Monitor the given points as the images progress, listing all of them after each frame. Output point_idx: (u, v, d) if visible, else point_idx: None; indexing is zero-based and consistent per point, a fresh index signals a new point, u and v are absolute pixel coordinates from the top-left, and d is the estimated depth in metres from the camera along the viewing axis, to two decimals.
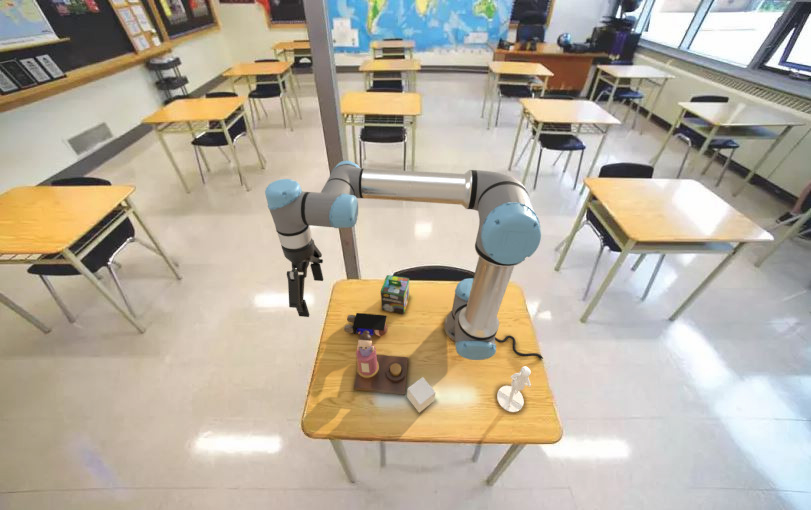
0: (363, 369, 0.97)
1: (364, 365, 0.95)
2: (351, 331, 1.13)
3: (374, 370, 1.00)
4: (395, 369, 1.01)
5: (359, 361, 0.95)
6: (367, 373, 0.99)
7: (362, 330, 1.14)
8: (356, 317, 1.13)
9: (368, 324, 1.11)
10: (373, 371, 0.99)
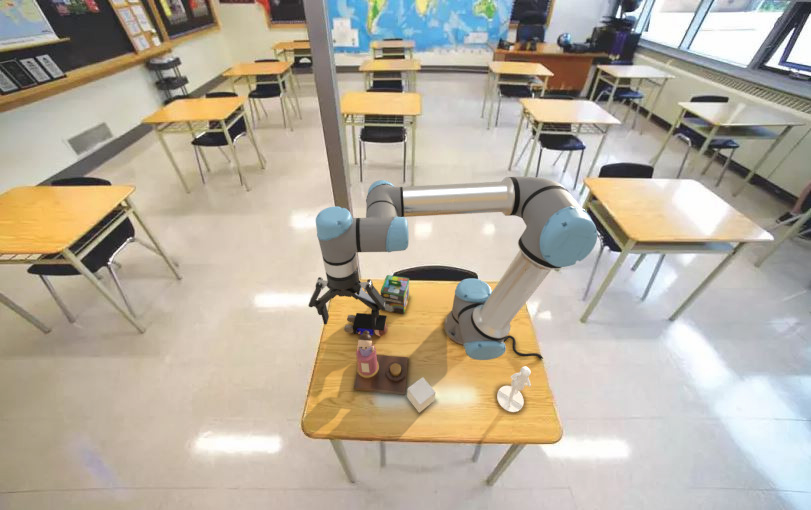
0: (363, 369, 0.97)
1: (364, 365, 0.95)
2: (351, 331, 1.13)
3: (374, 370, 1.00)
4: (395, 369, 1.01)
5: (359, 361, 0.95)
6: (367, 373, 0.99)
7: (362, 330, 1.14)
8: (356, 317, 1.13)
9: (368, 324, 1.11)
10: (373, 371, 0.99)
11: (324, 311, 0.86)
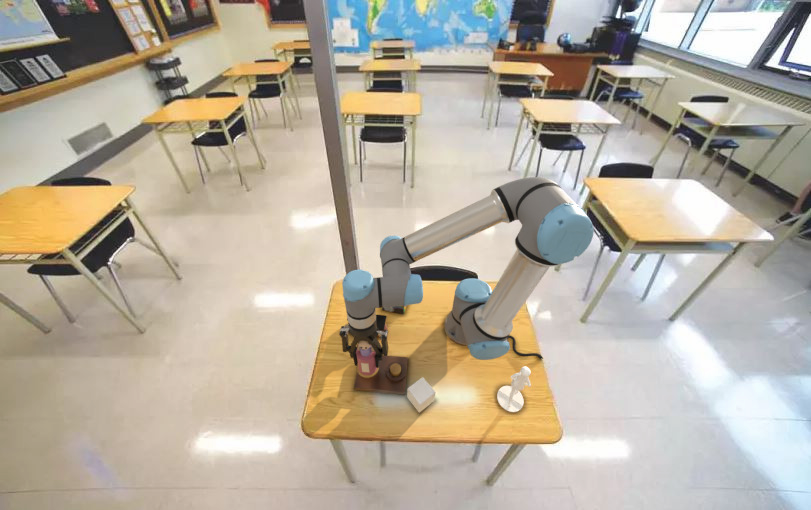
0: (363, 369, 0.97)
1: (364, 365, 0.95)
2: None
3: (374, 370, 1.00)
4: (395, 369, 1.01)
5: (359, 361, 0.95)
6: (367, 373, 0.99)
7: None
8: None
9: None
10: (373, 371, 0.99)
11: None
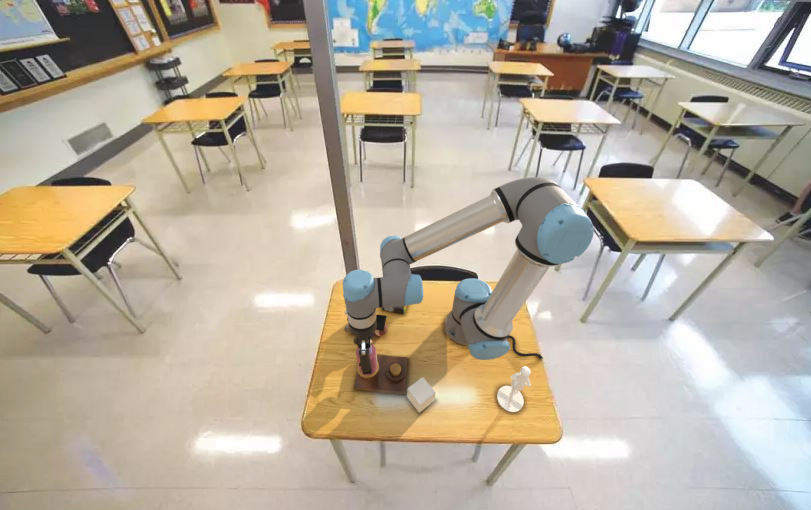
0: (376, 361, 0.99)
1: (376, 356, 0.98)
2: None
3: None
4: (395, 369, 1.01)
5: (374, 359, 0.96)
6: (376, 362, 1.01)
7: None
8: None
9: None
10: None
11: None
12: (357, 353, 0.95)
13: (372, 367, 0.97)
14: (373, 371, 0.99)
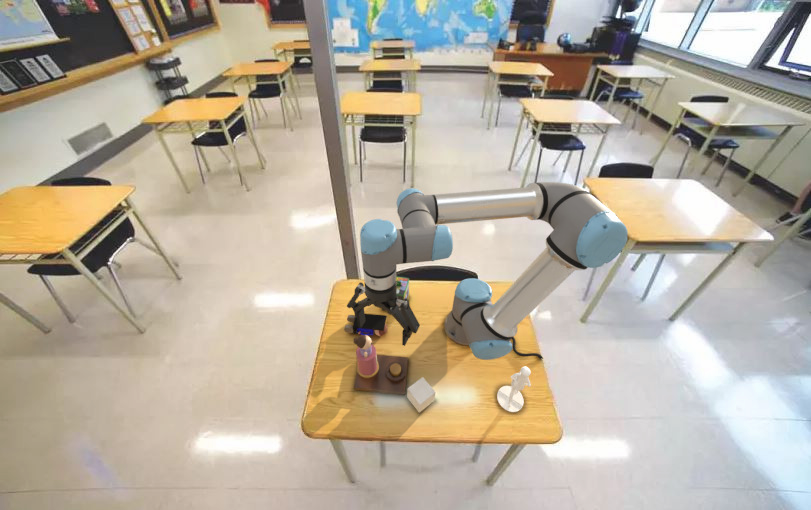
0: (376, 361, 0.99)
1: (376, 356, 0.98)
2: (351, 331, 1.13)
3: None
4: (395, 369, 1.01)
5: (374, 359, 0.96)
6: (376, 362, 1.01)
7: (362, 330, 1.14)
8: (356, 317, 1.13)
9: (368, 324, 1.11)
10: None
11: None
12: (357, 353, 0.95)
13: (372, 367, 0.97)
14: (373, 371, 0.99)
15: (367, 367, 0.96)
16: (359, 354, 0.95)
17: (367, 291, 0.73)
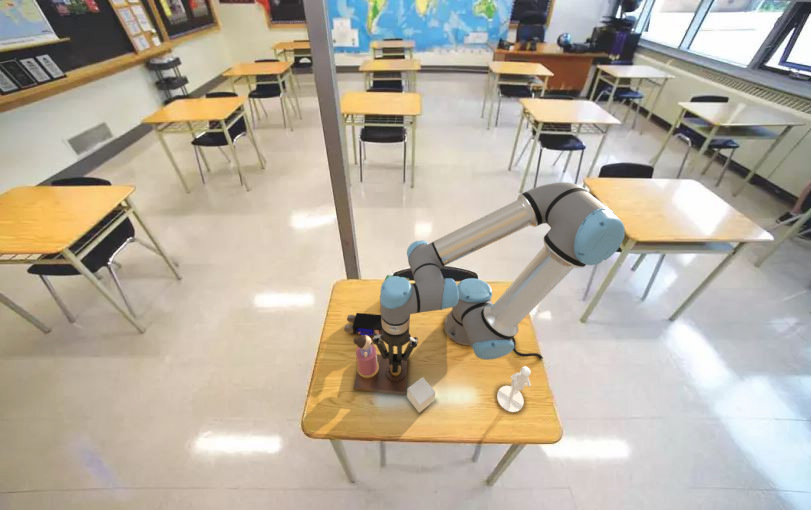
0: (376, 361, 0.99)
1: (376, 356, 0.98)
2: (351, 331, 1.13)
3: None
4: None
5: (374, 359, 0.96)
6: (376, 362, 1.01)
7: (362, 330, 1.14)
8: (356, 317, 1.13)
9: (368, 324, 1.11)
10: None
11: None
12: (357, 353, 0.95)
13: (372, 367, 0.97)
14: (373, 371, 0.99)
15: (367, 367, 0.96)
16: (359, 354, 0.95)
17: (387, 337, 0.84)
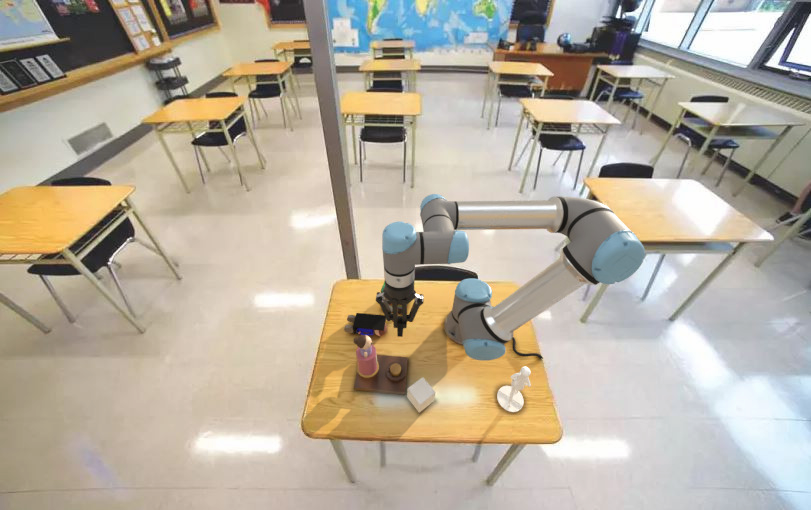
0: (376, 361, 0.99)
1: (376, 356, 0.98)
2: (351, 331, 1.13)
3: None
4: (395, 369, 1.01)
5: (374, 359, 0.96)
6: (376, 362, 1.01)
7: (362, 330, 1.14)
8: (356, 317, 1.13)
9: (368, 324, 1.11)
10: None
11: None
12: (357, 353, 0.95)
13: (372, 367, 0.97)
14: (373, 371, 0.99)
15: (367, 367, 0.96)
16: (359, 354, 0.95)
17: (391, 292, 0.78)
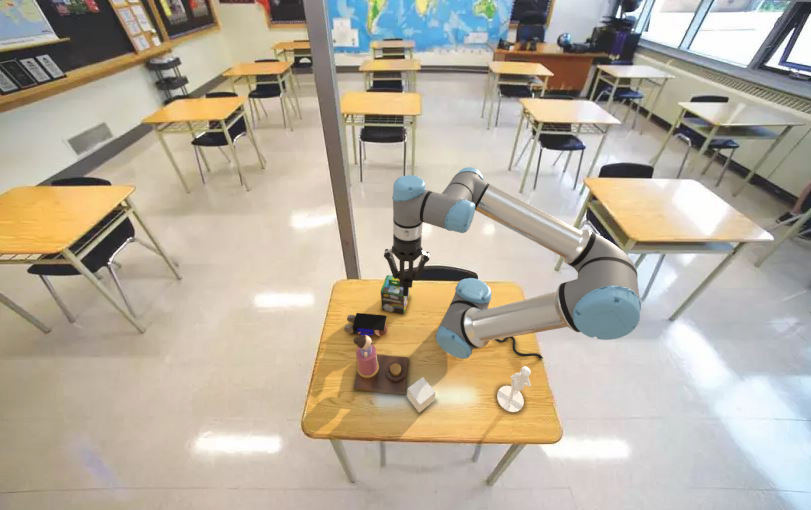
0: (376, 361, 0.99)
1: (376, 356, 0.98)
2: (351, 331, 1.13)
3: None
4: (395, 369, 1.01)
5: (374, 359, 0.96)
6: (376, 362, 1.01)
7: (362, 330, 1.14)
8: (356, 317, 1.13)
9: (368, 324, 1.11)
10: None
11: None
12: (357, 353, 0.95)
13: (372, 367, 0.97)
14: (373, 371, 0.99)
15: (367, 367, 0.96)
16: (359, 354, 0.95)
17: (399, 245, 0.82)
